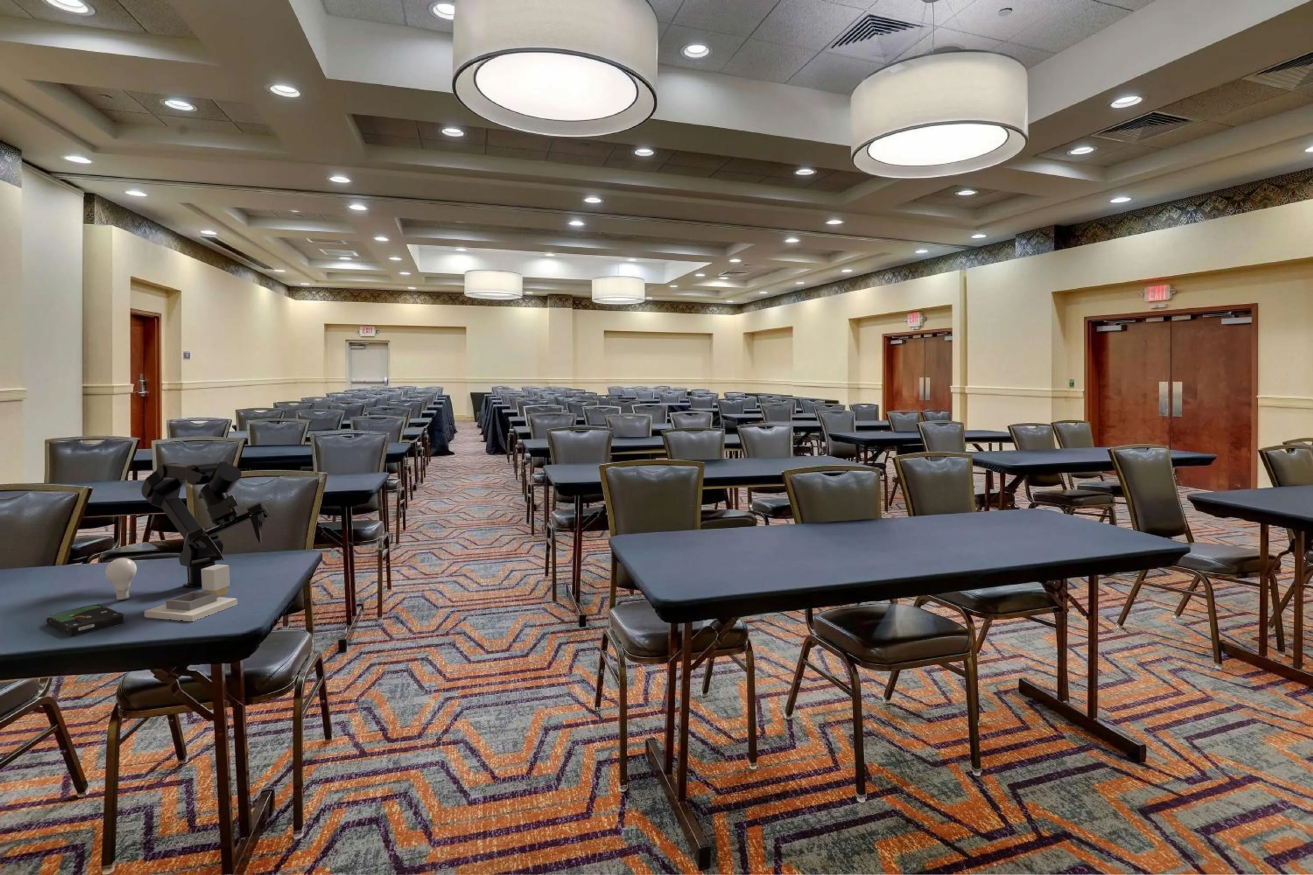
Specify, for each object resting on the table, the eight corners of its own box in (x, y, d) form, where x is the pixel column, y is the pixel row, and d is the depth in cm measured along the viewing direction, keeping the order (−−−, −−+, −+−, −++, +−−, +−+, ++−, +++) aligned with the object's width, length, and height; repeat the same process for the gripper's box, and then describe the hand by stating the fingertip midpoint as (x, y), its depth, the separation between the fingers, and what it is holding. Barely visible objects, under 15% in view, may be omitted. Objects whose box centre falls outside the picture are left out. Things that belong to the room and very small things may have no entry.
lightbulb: (144, 597, 180) (141, 556, 179) (118, 604, 174) (115, 562, 173) (127, 595, 182) (125, 554, 181) (101, 602, 176) (98, 560, 175)
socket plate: (144, 617, 165) (143, 602, 164) (192, 600, 177) (191, 587, 177) (192, 621, 162) (191, 607, 161) (237, 604, 174) (236, 590, 174)
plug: (202, 597, 180) (201, 569, 180) (217, 591, 185) (216, 564, 184) (215, 598, 179) (213, 569, 179) (230, 592, 184) (229, 565, 184)
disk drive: (126, 625, 161) (99, 613, 168) (125, 613, 161) (98, 602, 168) (71, 639, 152) (45, 626, 160) (70, 627, 152) (44, 614, 159)
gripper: (169, 507, 173) (193, 559, 169) (248, 475, 182) (272, 524, 178) (184, 522, 183) (206, 572, 179) (258, 491, 191) (281, 538, 187)
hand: (241, 551), depth 181 cm, fingers open, 9 cm apart
